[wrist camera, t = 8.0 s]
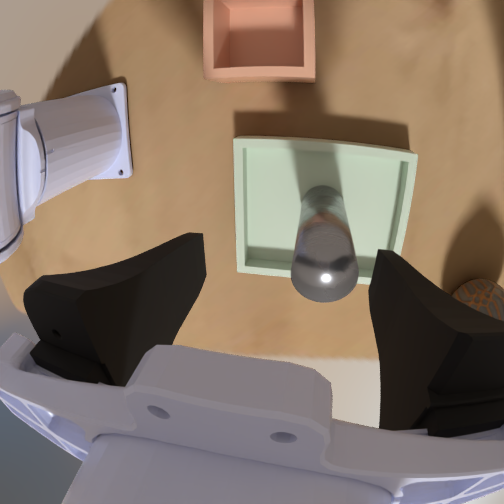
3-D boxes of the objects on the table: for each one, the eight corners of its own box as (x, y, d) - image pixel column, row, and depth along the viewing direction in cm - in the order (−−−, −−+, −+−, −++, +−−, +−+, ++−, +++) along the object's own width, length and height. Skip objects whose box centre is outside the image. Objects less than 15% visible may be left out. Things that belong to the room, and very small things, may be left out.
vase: (472, 252, 20) (520, 318, 12) (506, 288, 20) (546, 350, 13) (422, 308, 23) (447, 384, 16) (461, 336, 24) (486, 403, 16)
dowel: (302, 225, 22) (291, 301, 14) (300, 185, 20) (289, 243, 12) (343, 225, 21) (355, 302, 13) (344, 185, 19) (361, 244, 12)
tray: (242, 260, 25) (237, 272, 23) (239, 135, 20) (233, 138, 18) (388, 273, 22) (392, 286, 21) (410, 150, 18) (418, 154, 16)
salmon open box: (223, 82, 18) (203, 79, 15) (223, 5, 15) (203, -12, 12) (314, 83, 17) (315, 77, 14) (313, 2, 14) (312, -19, 11)
